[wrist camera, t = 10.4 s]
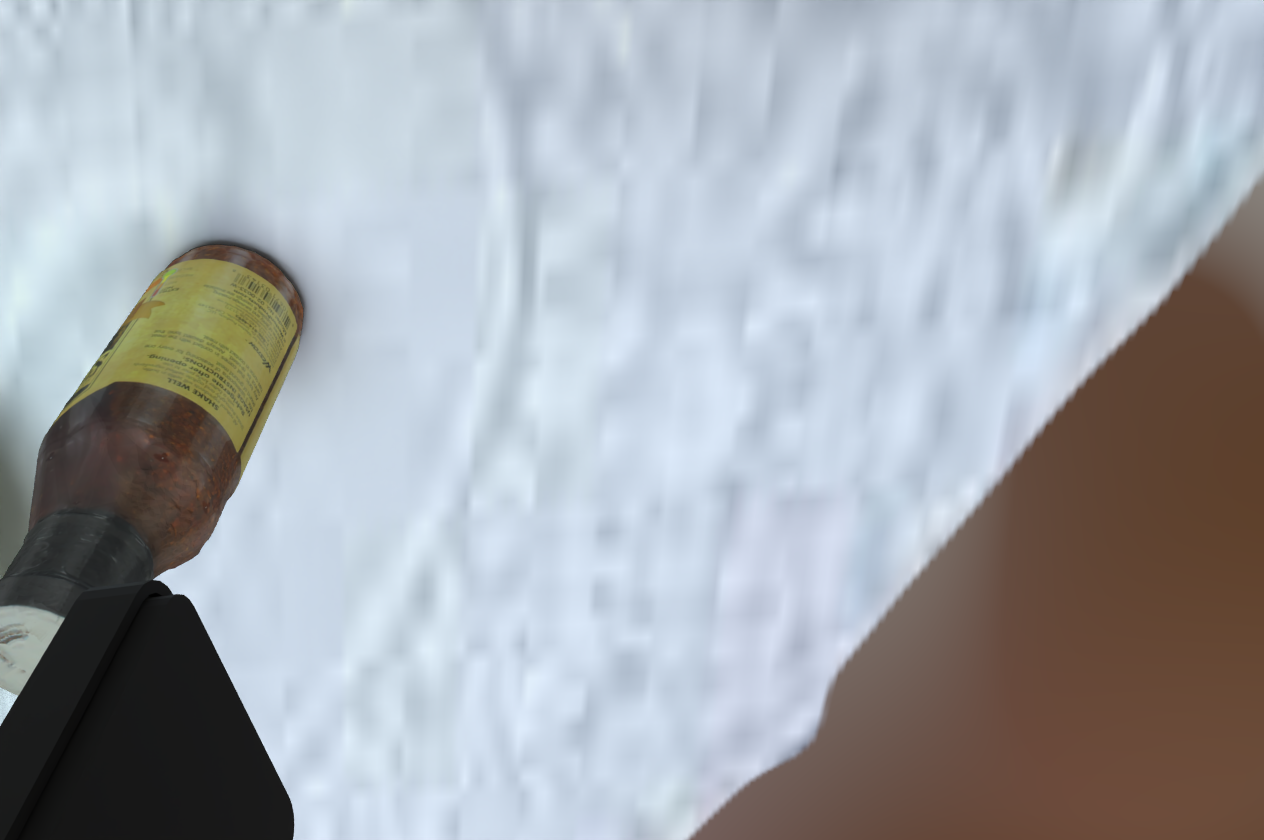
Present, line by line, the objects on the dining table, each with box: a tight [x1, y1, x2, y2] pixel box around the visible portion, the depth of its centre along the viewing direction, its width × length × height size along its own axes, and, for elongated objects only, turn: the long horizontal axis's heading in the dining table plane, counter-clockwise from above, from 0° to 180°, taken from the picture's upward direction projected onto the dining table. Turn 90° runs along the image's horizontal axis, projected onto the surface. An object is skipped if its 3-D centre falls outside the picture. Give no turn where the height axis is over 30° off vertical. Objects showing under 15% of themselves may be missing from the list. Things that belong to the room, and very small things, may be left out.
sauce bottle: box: [0, 245, 303, 696], centre depth 41 cm, size 6×6×20 cm
